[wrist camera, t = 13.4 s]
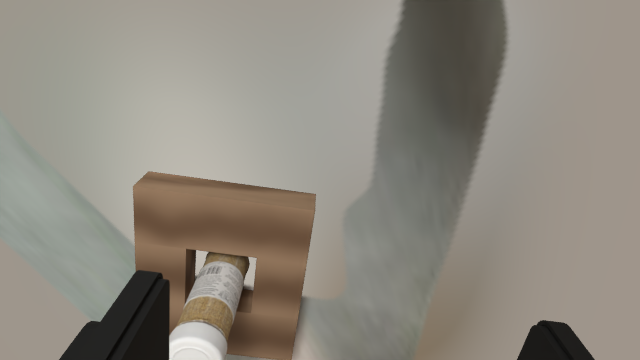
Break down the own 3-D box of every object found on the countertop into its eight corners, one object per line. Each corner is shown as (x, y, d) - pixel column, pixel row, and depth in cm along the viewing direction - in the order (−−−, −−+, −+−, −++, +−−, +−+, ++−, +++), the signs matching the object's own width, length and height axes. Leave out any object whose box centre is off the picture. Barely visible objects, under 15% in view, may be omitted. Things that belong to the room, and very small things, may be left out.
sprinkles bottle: (210, 279, 44) (166, 386, 32) (203, 242, 42) (154, 340, 30) (253, 277, 44) (226, 384, 32) (248, 240, 42) (217, 338, 30)
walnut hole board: (148, 171, 39) (133, 186, 36) (315, 194, 40) (315, 210, 37) (150, 319, 46) (138, 343, 43) (293, 336, 47) (291, 361, 44)
